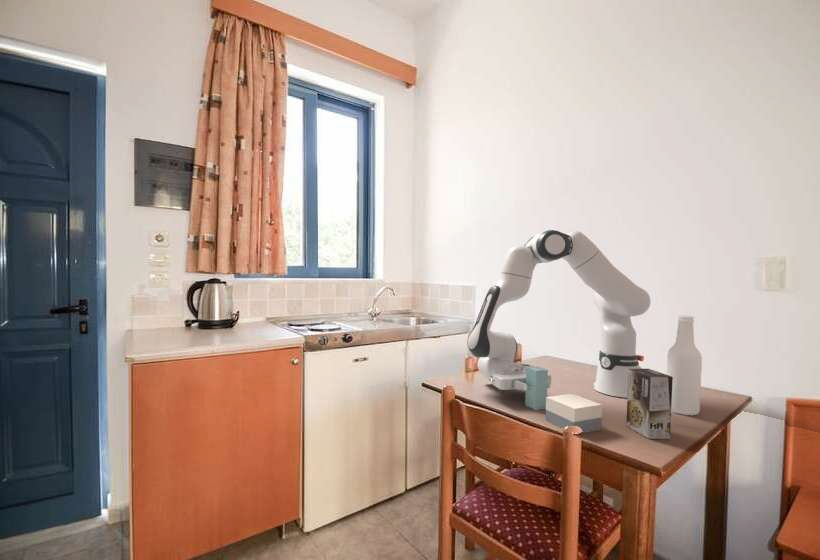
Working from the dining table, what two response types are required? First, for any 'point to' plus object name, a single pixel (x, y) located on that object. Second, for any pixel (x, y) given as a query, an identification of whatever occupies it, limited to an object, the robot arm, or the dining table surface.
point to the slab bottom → (584, 425)
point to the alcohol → (685, 369)
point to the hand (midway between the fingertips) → (538, 386)
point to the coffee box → (649, 403)
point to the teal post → (536, 387)
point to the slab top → (573, 407)
